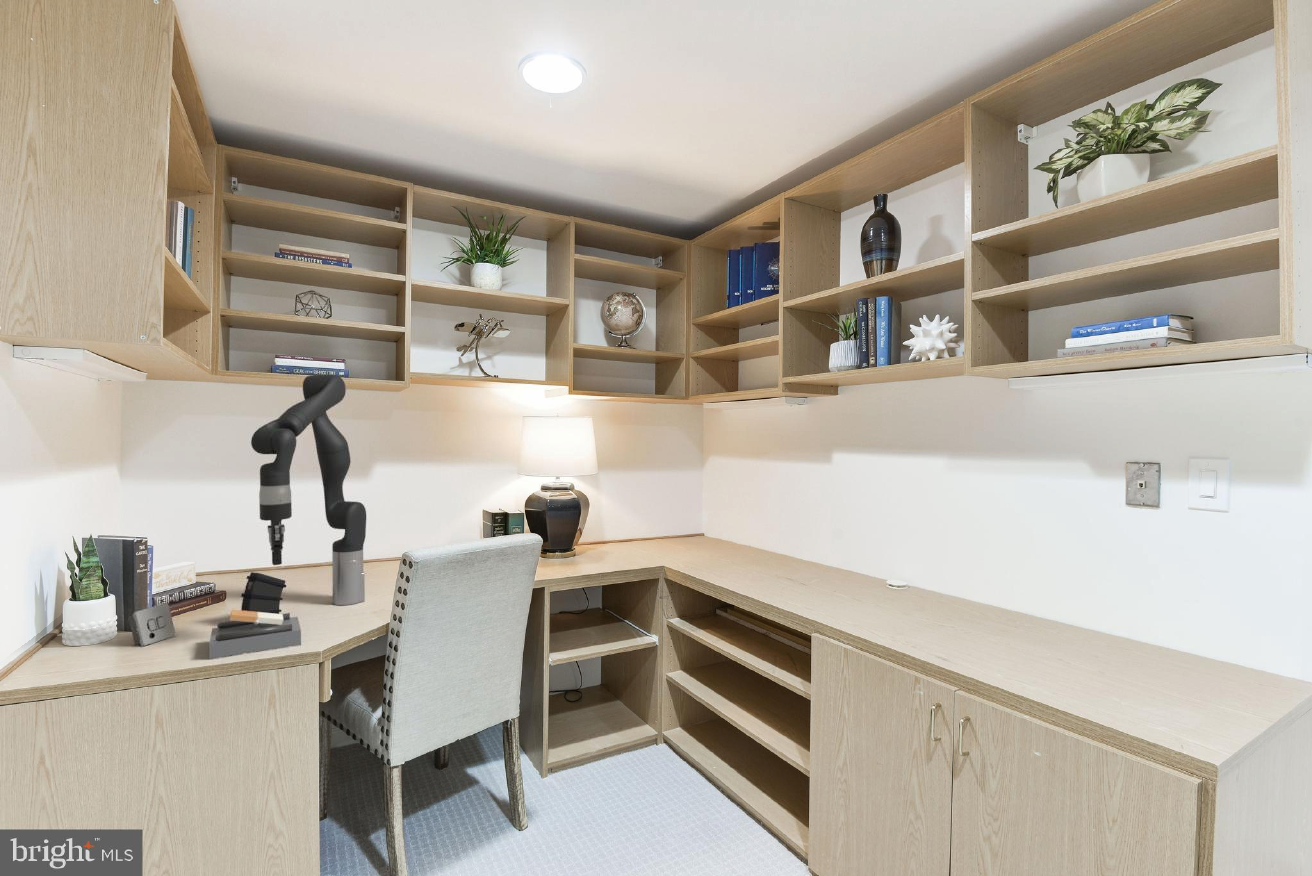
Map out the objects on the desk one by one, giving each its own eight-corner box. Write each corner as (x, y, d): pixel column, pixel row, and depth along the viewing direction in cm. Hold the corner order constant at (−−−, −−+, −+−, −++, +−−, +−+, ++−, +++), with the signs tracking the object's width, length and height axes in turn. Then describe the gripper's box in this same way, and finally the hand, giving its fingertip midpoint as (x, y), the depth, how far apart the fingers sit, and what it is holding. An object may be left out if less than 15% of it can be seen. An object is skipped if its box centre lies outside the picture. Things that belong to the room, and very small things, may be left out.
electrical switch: (143, 647, 168) (140, 612, 168) (127, 647, 169) (124, 612, 169) (176, 636, 177) (173, 602, 177) (161, 636, 178) (158, 603, 178)
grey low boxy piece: (297, 630, 182) (297, 611, 182) (301, 644, 170) (300, 624, 170) (212, 643, 171) (212, 622, 171) (209, 659, 159) (209, 637, 159)
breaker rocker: (280, 621, 176) (282, 614, 176) (281, 627, 171) (283, 619, 171) (229, 616, 170) (232, 609, 170) (229, 622, 165) (231, 614, 165)
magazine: (228, 624, 182) (248, 571, 188) (265, 631, 194) (282, 581, 200) (239, 625, 181) (258, 572, 187) (274, 632, 193) (292, 582, 199)
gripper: (293, 503, 171) (294, 567, 172) (289, 497, 182) (290, 558, 183) (260, 505, 167) (261, 571, 168) (258, 499, 178) (260, 561, 179)
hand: (276, 564), depth 175 cm, fingers closed
